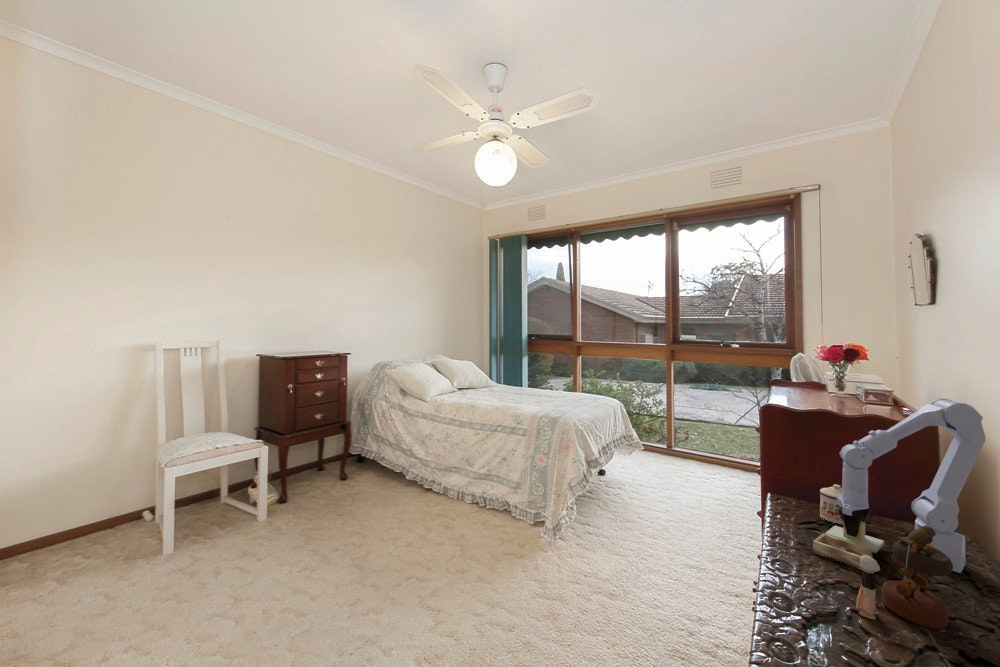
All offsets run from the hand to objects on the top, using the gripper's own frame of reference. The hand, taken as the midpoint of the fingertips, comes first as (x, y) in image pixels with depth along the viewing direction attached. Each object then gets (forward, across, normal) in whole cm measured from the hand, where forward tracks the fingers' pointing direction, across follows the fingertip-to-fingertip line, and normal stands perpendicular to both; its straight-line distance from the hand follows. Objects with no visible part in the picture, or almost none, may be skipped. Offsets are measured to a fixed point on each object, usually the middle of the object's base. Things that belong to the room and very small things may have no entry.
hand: (854, 533), depth 121 cm
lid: (+2, 0, 0) cm, 2 cm away
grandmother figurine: (+4, +36, +11) cm, 38 cm away
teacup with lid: (+4, -16, -7) cm, 18 cm away
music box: (+4, +26, +17) cm, 31 cm away
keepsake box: (+3, +11, 0) cm, 12 cm away
